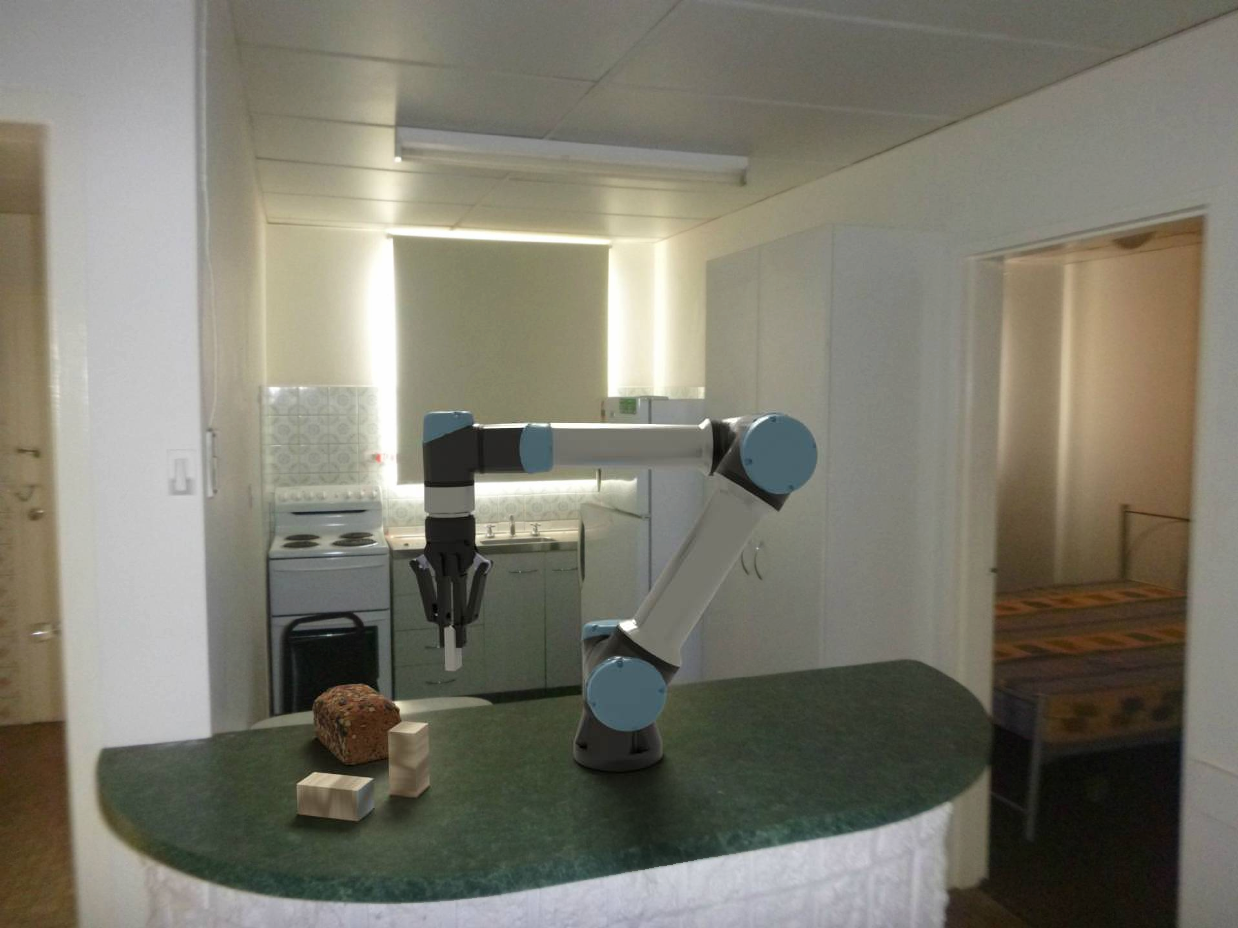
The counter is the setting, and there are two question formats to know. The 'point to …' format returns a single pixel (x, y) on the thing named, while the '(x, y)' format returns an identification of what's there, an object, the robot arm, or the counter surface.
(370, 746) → the bread
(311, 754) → the counter surface
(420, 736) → the light wood tall block
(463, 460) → the robot arm
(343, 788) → the light wood rectangular bar
